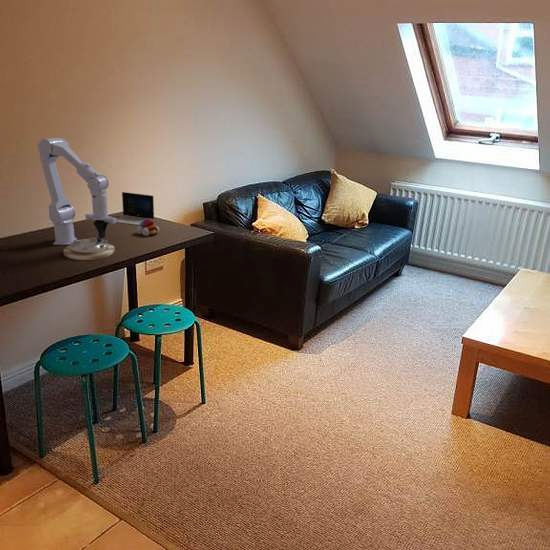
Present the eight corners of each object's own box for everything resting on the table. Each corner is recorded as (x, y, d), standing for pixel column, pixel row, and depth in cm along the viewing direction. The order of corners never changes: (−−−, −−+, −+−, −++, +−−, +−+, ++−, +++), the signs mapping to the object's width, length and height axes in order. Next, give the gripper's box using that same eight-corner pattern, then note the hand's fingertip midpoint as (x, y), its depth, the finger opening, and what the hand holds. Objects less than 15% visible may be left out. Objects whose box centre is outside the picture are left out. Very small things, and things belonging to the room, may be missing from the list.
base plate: (69, 245, 234) (69, 241, 233) (118, 245, 236) (117, 241, 236) (58, 260, 215) (58, 256, 214) (110, 260, 218) (110, 256, 217)
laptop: (109, 222, 272) (107, 196, 268) (123, 216, 284) (122, 191, 279) (141, 226, 267) (140, 200, 263) (154, 220, 279) (153, 195, 274)
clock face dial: (61, 249, 222) (60, 236, 220) (88, 241, 234) (87, 228, 233) (89, 256, 216) (88, 243, 214) (116, 247, 228) (115, 234, 226)
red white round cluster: (147, 238, 249) (147, 222, 246) (133, 233, 254) (133, 218, 252) (161, 234, 255) (161, 219, 253) (148, 230, 261) (147, 215, 258)
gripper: (78, 205, 223) (81, 237, 227) (107, 209, 217) (109, 242, 222) (91, 202, 229) (93, 233, 234) (118, 206, 223) (120, 238, 228)
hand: (102, 237), depth 228 cm, fingers closed, pressing on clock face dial
